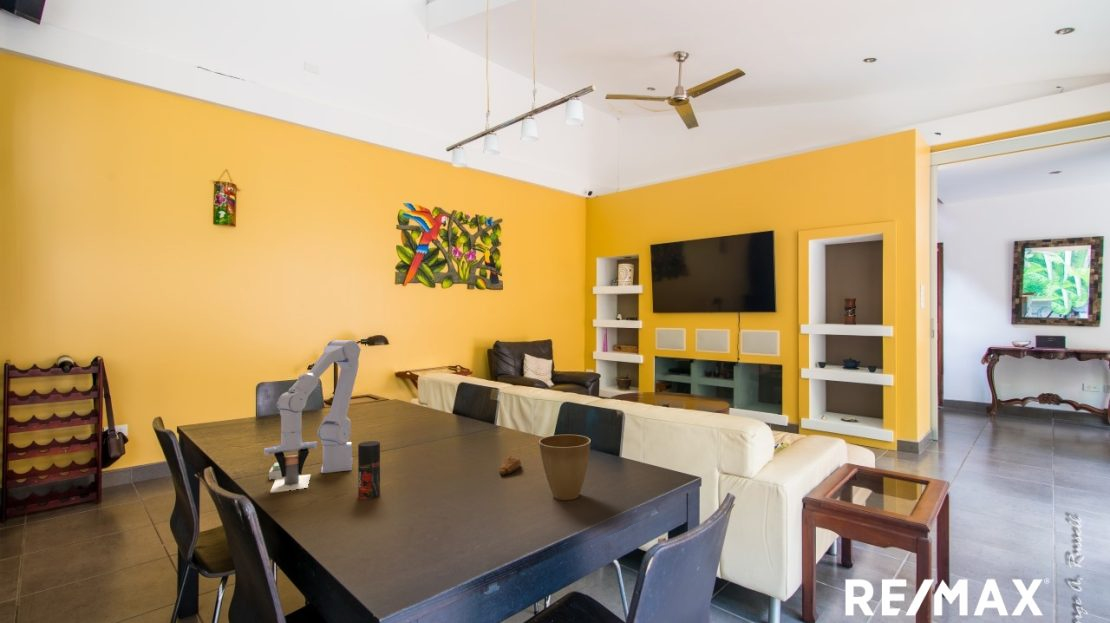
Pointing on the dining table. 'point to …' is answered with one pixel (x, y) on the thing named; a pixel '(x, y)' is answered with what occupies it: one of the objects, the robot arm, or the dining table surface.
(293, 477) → the grey and orange block
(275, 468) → the button
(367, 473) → the deodorant
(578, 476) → the plant pot
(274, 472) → the button housing
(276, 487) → the paper sheet
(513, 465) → the croissant
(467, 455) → the dining table surface
